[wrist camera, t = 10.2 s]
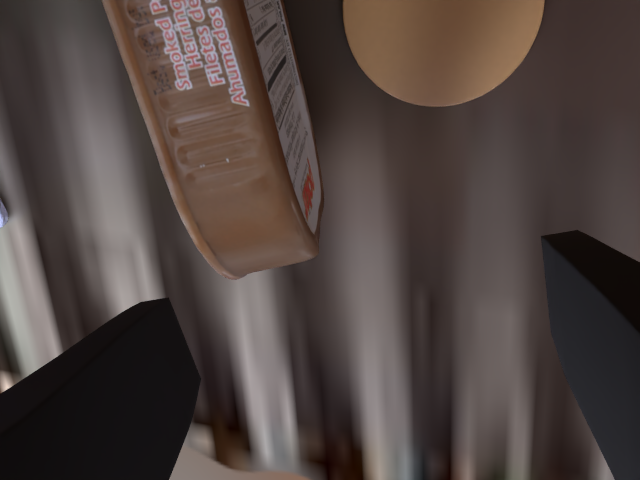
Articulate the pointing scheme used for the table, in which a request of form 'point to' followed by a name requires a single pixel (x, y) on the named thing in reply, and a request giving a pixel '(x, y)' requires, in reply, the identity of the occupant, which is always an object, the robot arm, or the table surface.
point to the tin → (227, 125)
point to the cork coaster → (440, 45)
